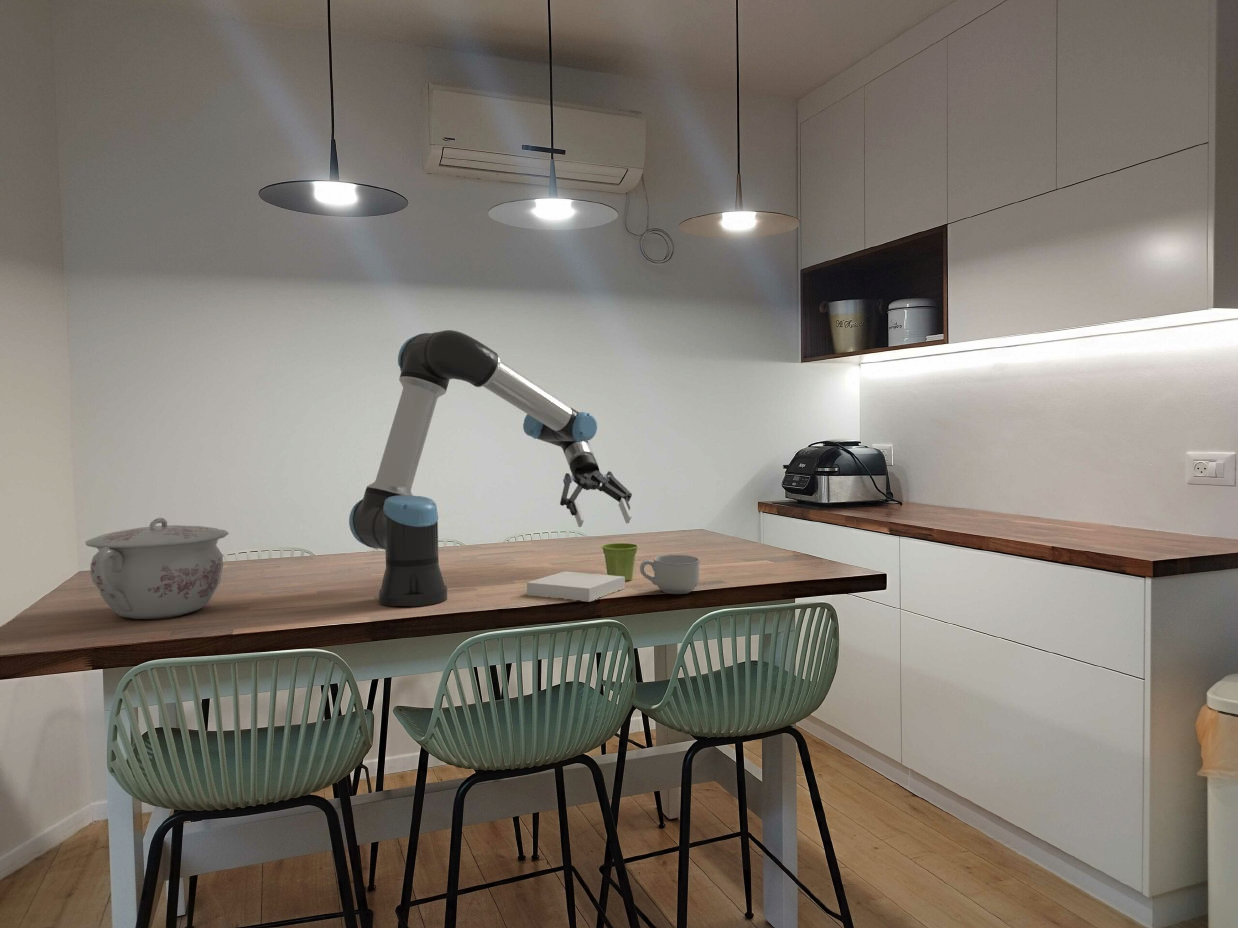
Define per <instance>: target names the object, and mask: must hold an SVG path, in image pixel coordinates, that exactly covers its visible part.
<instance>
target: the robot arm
mask: <svg viewBox="0 0 1238 928" xmlns="http://www.w3.org/2000/svg"><path fill="white" fill-rule="evenodd" d="M397 365H398V366H399V370H400V375H399V378H398V380H399V382H400V384H401V386H402V391H401V395H400V398H399V401H398V404H397V407H396V412H395V413H394V417H393V422H392V424H391V427H390V431H389V435H388V437H387V440H386V444H385V447H384V450H383V451H384V452H383V453H382V457H381V461H380V464H379V468H378V471H377V475H376V477H375V480H374V481H373V482H372V483H370V484H368V485H367V486H366V488H365V491H364V495H363V498H362V499H361V500H359V501H358V502H356V503H355V505H353V506H352V508H351V510H350V513H349V518H348V527H349V529H350V532H351V534H352V535H353V537H354V539H356V541H358V543H360V544H363V545H365V546H366V547H368V548H373V549H376V550H377V549H379V550H384V551H385V570H384V574H383V576H382V577H383V578H382V582H381V587H380V589H379V591H378V603H379V604H380V605H382V606H386V605H387V607H394V606H412V607H421V606H422V607H423V606H430V605H435V604H438V603H442V602H444V601H446V600H447V599H448V588H447V585H446V584H445V580H444V577H443V574H442V572H441V567H440V565H439V527H438V526H439V524H438V521H439V515H438V509H437V507H438V506H437V503H436V501H434V499H432V498H429V497H426V496H421V495H413V493H412V488H413V484H414V480H415V477H416V473H417V470H418V467H419V465H420V459H421V456H422V453H423V449H424V447H425V442H426V439H427V436H428V433H429V429H430V425H431V422H432V418H433V415H434V412H435V408H436V405H437V402H438V399H439V398H440V397H442V396H444V395H445V394H446V393H447V391H448V387H449V383H450V380H458V381H459V380H460V381H463V382H466V383H469V384H471V385H472V386H474V387H476V388H482V387H483V388H485V389H486V390H488V391H490V392H491V393H493V394H495V395H496V396H498V397H499V398H501V399H503V400H505V402H507V403H509V404H511V405H513V406H514V407H515V408H518V409H519V410H521V411H522V412H524V413H525V414H526V415H525V417H524V420H523V425H522V427H523V428H522V429H523V431H524V433H525V434H526V435H527V436H528V437H531V438H533V439H534V440H540V441H542V442H546V443H549V444H551V445H554V446H557V447H559V448H561V449H562V451H563V454H564V456H565V459H566V462H567V464H568V467H569V470H570V473H571V474H570V473H567V472H566V473H565V474H564V476H563V479H562V480H563V489H562V493H561V498H560V501H559V505H560V506H562V507H563V506H566V507H565V508H566V509H567V510H569V512H570V513H569V514H570V515H571V516H574V518H575V521H576V523H577V526H578V528H582V526H583V524H584V522H585V518H584V516H583V514H582V511H581V508H580V506H579V502H578V500H577V498H578V496H579V495H580V493H581V492H582V490H583V489H584V490H585V491H590V490H592V491H593V490H594V491H596V490H598V491H600V492H603V493H604V494H606V495H607V496H610V497H611V498H612V499H614V500H615V501H617V502H618V507H619V509H620V512H621V515H622V517H623V519H624V522H625V524H629V523H630V521H631V519H632V514H631V511H630V510H631V505H630V503H629V502H631V501H630V500H631V499H632V496H633V494H632V492H631V491H630V490H628V489H627V487H625V486H624V485H623V484H622V483H621V482H620V481H619V480H618V479H617V478H616V477H615V476H614V474H613V473H612V471H607V473H602V472H601V471H600V467H599V465H598V462H597V459H596V458H595V455H594V452H593V449H592V447H591V444H590V442H589V441H591V440H592V439H594V437H595V436H596V434H597V430H598V422H597V420H596V417H595V416H594V415H593V414H591V412H585V411H577V410H576V409H574V408H572V407H571V406H569V405H568V404H567V403H565V402H564V401H562V400H561V399H559V398H557V397H556V396H555V395H553V394H551V393H550V392H549V391H547V390H546V389H544V388H542V387H541V386H539V385H538V384H537V383H534V382H533V381H532V380H530V378H527V377H526V376H524V375H523V374H521V373H520V372H518V371H517V370H515V369H514V368H512V367H510V366H509V365H508V364H506V363H505V362H503V361H502V360H500V356H499V354H498V353H497V352H496V351H494V350H493V349H492V348H490V347H488V346H487V345H485V344H484V343H481V342H480V341H478V340H477V339H475V338H474V337H472V336H470V335H468V334H466V333H463V332H461V331H458V330H453V329H451V330H450V329H446V330H440V331H435V332H431V333H430V332H428V333H427V332H424V333H419V334H417V335H415V336H412V337H410V338H409V339H407V340H406V341H405V342H403V344H402V345H401V347H400V349H399V352H398V356H397ZM572 482H574V483H575V484H576V485H577V486H576V487H575V489H574V490H573V492H572V494H571V495H570V497H569V498H568V495H569V492H570V491H569V490H570V485H571V484H572Z"/></svg>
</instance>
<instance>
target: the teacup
mask: <svg viewBox="0 0 1238 928" xmlns="http://www.w3.org/2000/svg"><path fill="white" fill-rule="evenodd" d="M700 562H701V559H700V558H699V557H697V556H694V555H690V554H689V555H687V554H679V553H677V554H676V553H674V554H660V555H658V556H655V557H654V558H653V560H650V559H645V560H643V561H642V562H641V563H640V564H639V572H640V574H641V575H642V576H643V577H644V578H645V579H647V580H649V581H650V582H651V584H653V585H654V586H656V587H658V588H659V589H660V590H661V591H662V592H663V593H666V594H669V595H670V594H671V595H683V594H684V595H685V594H689V593H691V592H692V591H693V590H694V589H695V588H696V587H697V586H698V584H699V580H700ZM646 565H650V566H651V568H652V571H653V574H654V576H651V575H649V574H647V572H646V571H645V566H646Z"/></svg>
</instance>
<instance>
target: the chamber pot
mask: <svg viewBox="0 0 1238 928" xmlns="http://www.w3.org/2000/svg"><path fill="white" fill-rule="evenodd" d="M157 524H161V525H157ZM229 534H230V533H229V532H228V531H227V530H226V529H222V528H221V529H219V528H218V527H210V526H200V525H179V524H178V525H176V524H175V525H174V524H173V525H170V524H169V525H168V521H167V520H166V519H165V518H163V517H158V518H155V519H154V520H152V521H151V522H150V524H149V526H144V527H137V528H136V527H135V528H129V529H123V530H119V531H114V532H109V533H104V534H101V535H98V536H96V537H92V538H90V539H88V540H86V541H85V542H84V543H85V545H86V546H87V547H91V548H95V549H97V550H98V551H97V552H96V553H95V554H94V555H93V556H92V559H91V562H90V571H89V572H90V577H91V579H92V580H91V581H92V583H93V584H94V585H95V586H96V588H97V590H99V593H100V594H99V595H100V597H101V598H102V599H103V600H104V602H105V603H106V604H107V605H108V607H109V608H110V610H112V611H113V612H114V613H115V614H116V615H118V616H120V617H124V618H129V619H131V620H138V619H153V620H163V618H164V619H171V618H176V617H177V618H178V617H181V616H185V615H189V614H191V613H194V612H197V611H198V610H200V609H202V608H204V607H205V606H206V605H207V604H209V602H210V601H211V599H212V598H213V596H214V594H215V592H216V591H217V590H218V587H219V585H220V584H221V580H222V574H223V568H224V559H223V558H224V557H223V553H222V551H221V549H220V548H219V547H218V546H217V544H218V541H219V540H220V539H224V538H225V537H227V536H228V535H229Z"/></svg>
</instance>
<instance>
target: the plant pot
mask: <svg viewBox="0 0 1238 928" xmlns="http://www.w3.org/2000/svg"><path fill="white" fill-rule="evenodd" d="M639 547H640V546H639V544H636V543H628V542H616V543H615V542H614V543H605V544H602V545H601V549H602V552H603V554H604V560H605V567H606V568H605V569H606V575H612V576H624V577H625V581H626V580H631V579H632V580H633V576H634V568H635V561H636V554H637V551H638V549H639ZM632 580H631V581H632ZM626 582H627V581H626Z"/></svg>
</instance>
